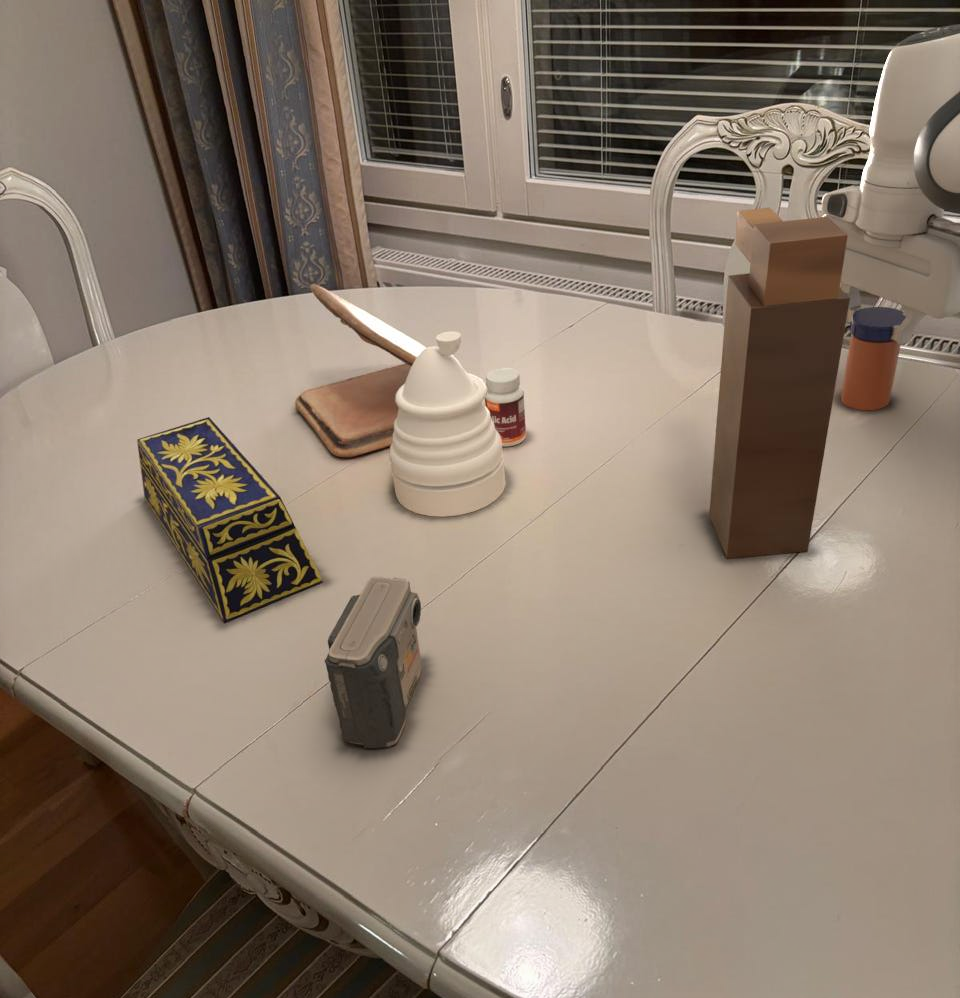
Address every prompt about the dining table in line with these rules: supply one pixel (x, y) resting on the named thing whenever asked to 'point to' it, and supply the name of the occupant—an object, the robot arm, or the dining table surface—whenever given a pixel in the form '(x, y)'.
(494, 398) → the pill bottle
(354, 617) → the camera
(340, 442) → the case
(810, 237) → the brown wooden block
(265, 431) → the dining table surface
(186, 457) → the decorative box
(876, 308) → the lid
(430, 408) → the honey pot
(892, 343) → the jar
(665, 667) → the dining table surface
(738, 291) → the pedestal
